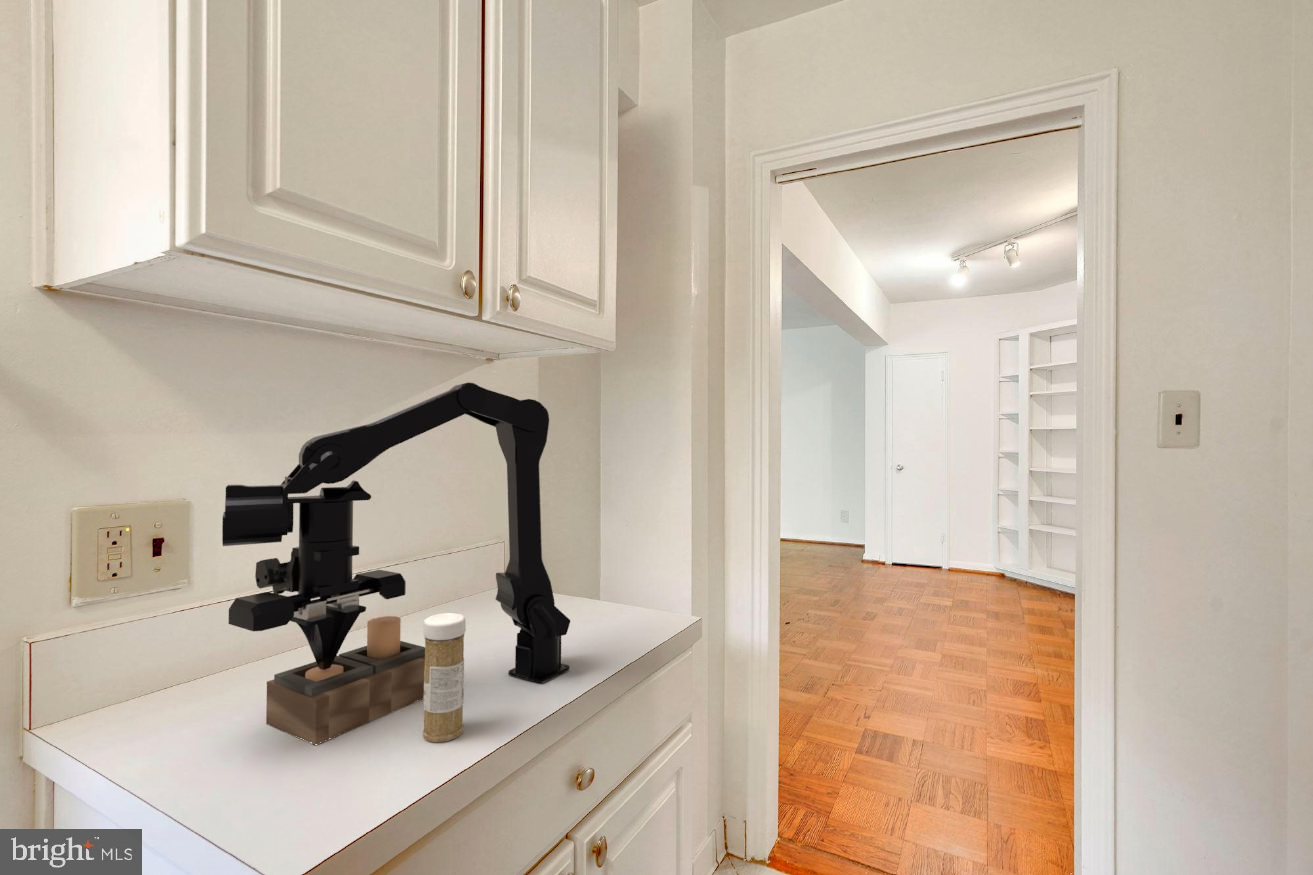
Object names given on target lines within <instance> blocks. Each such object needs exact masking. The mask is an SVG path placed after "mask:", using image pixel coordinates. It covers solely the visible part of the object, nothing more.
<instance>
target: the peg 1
mask: <svg viewBox="0 0 1313 875" xmlns="http://www.w3.org/2000/svg"><path fill="white" fill-rule="evenodd" d="M341 673H343V666H341V665H331V667H330V668H328V669H325V670H322V669H319V667H315V668H312V669H310V670H308V671H307V672H306V674H305V678H307V679H310V680H313V681H315V682H317V681H320V680H323V679H326V678H329V677H332V676H335V675H338V674H341Z"/></svg>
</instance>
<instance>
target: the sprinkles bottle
mask: <svg viewBox="0 0 1313 875" xmlns="http://www.w3.org/2000/svg"><path fill="white" fill-rule="evenodd" d="M466 624H467V623H466V617H465V616H464V615H463V614H460V613H454V612H445V613H444V612H443V613H438V614H437V613H436V614H434V615H431V616H428V617H426V618H425V619H424V620H423V637H424V647H425V670H424V698H423V711H424V712H423V728H422V736H423V738H424V740H426V741H428V742H434V743H435V742H437V743H438V742H439V743H441V742H448V741H451V740H454V739H455V738H457V737H459V736H460V735H462V734H463V732H464V724H463V711H464V710H463V706H464V700H465V698H464V696H465V695H464V694H465V693H464V690H465V687H464V686H465V684H464V683H465V680H464V678H465V673H464V672H465V659H464V658H465V657H464V653H465V652H464V651H465V648H464V646H465V645H464V644H465V643H464V642H465V641H464V640H465V634H466V628H467V627H466Z"/></svg>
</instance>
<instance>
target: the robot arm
mask: <svg viewBox="0 0 1313 875" xmlns="http://www.w3.org/2000/svg"><path fill="white" fill-rule="evenodd" d="M463 415H466V416H469V417H470V418H473V419H474V420H476V421H479V422H482V423H484V424H486V425H489V426H490V427H494V428H495V431H496V436H497V440H498V445H499V446H500V449H501V453H502V454H503V457H504V459H505V462H506V463H505V464H506V477H507V478H506V479H507V506H508V508H507V511H508V513H507V514H508V515H507V517H508V544H509V549H508V550H509V558H508V559H509V560H508V564H507V567H506V569H505V571H504V572H496V574H495V579H496V580H495V581H496V585H497V594H496V596H495V601H497V602H499V603H500V607H501V609H502V611H503V612H504V613H505V614H506V615H507V616H509V617H510V618H511V620H512V623H513V625H514V626H516V627H518V628H520V630H519V632H517V633H516V645H515V648H514V649H515V651H514V652H515V658H514V659H515V663H514V664H515V666H514V667H513V668H511V669H509V670H508V672H507V674H508V675H509V676H513V677H517V678H519V679H520V678H521V679H525V680H528V681H531V682H535V683H539V684H542V683H545V682H548V681H549V680H551V679H554V678H555V677H556V676H559V675H561V674H562V673H564V672H567V671H569V670H570V665H569V664H566V663H562V636H566V635H567V633H568V630H569V627H570V623H571V619H570V618H569V617H568V616H566V614H564V613H563V612H562V611H561V610H560V609H559V608H558V607H557V606H556V604H555V598H554V591H553V588H552V582H551V579H550V576H549V574H548V571H547V569H546V567H545V564H544V561H543V553H542V552H543V551H542V550H543V549H542V546H543V545H542V517H541V516H542V515H541V514H542V512H541V484H540V483H541V482H540V481H541V479H540V463H541V462H540V461H541V458H542V455H543V453H544V450H545V447H546V445H547V443H548V442H547V441H548V433H549V429H550V428H549V427H550V415H549V412H548V409H547V408H546V407H545V406H544V405H543V404H542V403H541V402H540V401H538V400H536V399H531V398H527V399H518V398H515V397H513V396H509V395H506V394H503V393H501V392H497V391H493V390H491V389H487V388H485V387H482V386H480V385H478V384H477V383H474V382H465V383H460V384H456V385H454V386H453V387H451V388H450V389H449V390H447V391H445V392H442V393H439V394H437V395H435V396H433V397H430V398H427V399H425V400H423V401H421V402H419V403H416V404H414V405H411V406H409V407H407V408H403V409H402V410H399V411H397V412H395V413H393V414H389V415H388V416H386V417H383V418H380V419H378V420H376V421H373V422H372V423H368V424H367V423H366V424H364V425H360V426H355V427H351V428H346V429H342V430H338V431H337V430H336V431H333V432H329V433H326V434H321V435H317V436H313V437H312V438H311V439H309V440H306V442H304V444H303V445H302V446H301V448H300V450H299V452H298V464H297V465H296V467H294V469H292V471H291V472H290V474H288V475H287V476H284V480H283V481H282V482H281V483H280V484H277V485H275V484H272V485H271V484H270V485H267V484H266V485H245V484H227V485H226V486H225V500H224V501H225V502H224V503H225V504H224V511H223V515H222V529H221V531H222V534H221V535H222V538H221V539H222V542H221V543H222V547H230V546H231V547H233V546H243V545H245V546H246V545H258V544H272V543H273V544H274V543H282V540H283V536H288V534H290V533H291V534H292V533H293V532H294V504H298V505H299V506H298V508H299V509H298V510H299V512H298V515H299V516H298V546H296V547H292V550H291V553H290V560H289V561H286V562H282V563H281V562H280V560H279V558H277V557H274V558H267V559H262V560H259V561H257V562H256V563H255V564H256V565H255V574H254V575H255V576H254V577H255V582H256V587H258V589H265V588H271V587H272V591H273V592H271V591H265V592H259V593H256V594H249V595H246V596H240V597H236V598H235V599H234V601H233V602H232V604H231V605H230V607H229V608H228V625H231V626H234V627H238V628H240V629H244V630H246V631H247V630H248V631H251V632H263V631H266V630H271V629H275V628H279V627H282V626H287V625H288V624H289V622H292V623H296V624H297V626H298V627H299V628H300V630H301V631H302V633H303V634H304V636H305V638H306V640H307V643H308V645H309V648H310V650H311V652H312V655H313V657H314V660H315V662H317V665H318V667H319V669H322V670H325V669H328V668H330V667H331V665H332V663H333V661H334V659H335V657H336V655H337V656H338V653H339V651H340V649H341V647H342V645H343V643H344V641H345V639H346V638H347V635H348V634H349V632H350V630H351V629H352V627H353V626H354V625H355V623H356V620H358V617H359V616H360V614H362V613H365V612H366V610H367V606H364V605H360V597H363V596H369V595H372V594H376V593H378V594H379V595H380V596H381V597H382V598H383V600H391V599H394V598H399V597H403V596H406V591H407V590H406V587H407V586H406V585H407V583H406V582H407V581H406V580H405V579H406V578H404V576H403V574H402V573H400V572H394V571H388V570H384V569H376V570H371V571H367V572H362V573H356V574H355V576H353V557H354V556H359V555H360V546H358V545H353V544H354V543H353V540H354V539H353V537H354V535H353V534H354V502H356V501H357V502H358V501H370V500H372V494H370V493H369V492H368V491H366V490H365V489H364V488H363V487H362V486H361V485H360V483H359V481H358V480H352V481H351V482H350V483H348V485H347V486H336V487H335V486H331V487H329V486H328V487H327V486H326V487H321V488H320V489H319V490H320V491H319V495H306V496H289V495H294V494H295V495H296V494H297V495H299V494H307V493H309V492H310V491H312V490H314V489H316V487H319V486H320V485H321V484H325V485H326V484H328V485H330V484H331V485H333V484H337V483H339V482H343V481H344V480H346V479H348V478H349V477H350V476H352V475H354V474H356V473H358V471H360V470H361V469H362V468H364V467H366V466H367V465H369V464H370V463H371V462H372V461H374V460H375V459H376V458H378V457H379V456H380V455H382V454H383V453H384V452H386V451H388V450H389V449H390V448H393V447H395V446H397V445H399V444H401V443H402V444H403V443H404V442H407V441H408V440H411V439H412V438H415V437H418V436H419V435H420V436H421V435H422V434H424V433H426V432H429V431H432V430H433V429H435V428H437V427H440V426H442V425H444V424H446V423H449V422H450V421H453V420H455V419H457V418H460V417H462V416H463ZM284 592H289V593H294V592H295V593H296V592H297V594H294V595H289V596H287V595H282V594H283V593H284Z"/></svg>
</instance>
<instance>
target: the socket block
mask: <svg viewBox="0 0 1313 875" xmlns="http://www.w3.org/2000/svg"><path fill="white" fill-rule="evenodd" d="M332 665H341V666H343V673H341V674H338V675H335V676H332V677H329V678H326V679H323V680H320V681H317V682H315V681H313V680H310V679H307V678H305V674H306V672H307V671H308V670H310V669H312V668H315V667H318V665H317V662H316V661H313V662H311V663H307V664H304V665H301V666H298V667H294V668H291V669H288V670H285V671H281V672H279V673H276V674H274V675H273V676H274V677H273V678H274V679H271V680H268V681H266V709H265V710H266V716H265V717H266V719H265V720H266V722H265V724H266V725H268V726H270V727H273V728H274V729H277V730H279V731H281V732H284V733H286V732H287V733H286V734H289V735H290V734H291V735H290V736H293V735H294V736H293V737H295V736H297V737H299V738H298V739H300V738H302V739H304V740H306V741H308V742H307V743H309V742H312V743H313V744H318V745H320V744H321V743H320V742H322V743H324V742H323V741H325V740H327V741H329V740H330V739H329V738H332V739H334V738H335V737H334V736H336V737H338V735H339V734H341V735H343V734H345V733H347V731H348V732H350V731H352V730H354V729H357V728H359V727H361V726H364V725H366V724H368V723H371V722H372V721H375V720H377V719H379V718H380V719H381V717H384V716H387V715H388V714H391V713H393V711H394V712H396V711H398V710H400V709H402V708H405V707H407V706H409V704H410V705H412V704H414V703H416V702H415V701H417V700H419V701H421V700H423V699H424V670H425V646H422V645H418V644H415V643H410V642H407V641H403V640H400V653H399V654H396V655H393V656H390V657H387V658H384V659H381V660H376V659H372V658H369V657H367V645H365V646H361V647H358V648H355V649H352V650H348V651H346V652H342V653H339V654H337V655H336V657H335V659H334V661H333V663H332ZM422 698H423V699H422ZM420 699H421V700H420ZM413 702H414V703H413ZM417 702H418V701H417ZM411 703H412V704H411ZM344 732H345V733H344ZM339 736H340V735H339ZM297 737H296V738H297ZM333 737H334V738H333ZM302 739H301V740H302ZM328 739H329V740H328ZM304 740H303V741H304ZM306 741H305V742H306ZM325 742H326V741H325ZM319 743H320V744H319ZM313 744H312V745H313Z"/></svg>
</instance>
